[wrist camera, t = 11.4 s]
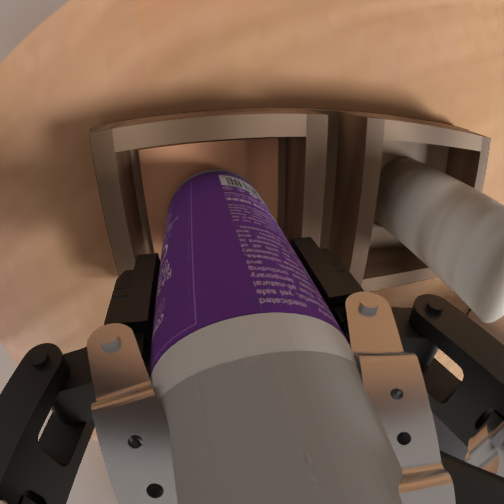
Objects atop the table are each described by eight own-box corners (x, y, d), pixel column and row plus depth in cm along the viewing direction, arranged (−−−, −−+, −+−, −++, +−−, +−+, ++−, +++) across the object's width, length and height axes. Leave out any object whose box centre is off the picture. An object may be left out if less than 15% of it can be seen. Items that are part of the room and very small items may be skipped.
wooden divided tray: (454, 125, 18) (581, 178, 8) (433, 242, 23) (526, 327, 13) (98, 125, 14) (-32, 194, 4) (128, 278, 19) (99, 437, 9)
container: (154, 187, 14) (96, 607, 1) (248, 155, 14) (499, 524, 1) (187, 266, 16) (222, 592, 3) (270, 239, 16) (414, 541, 4)
